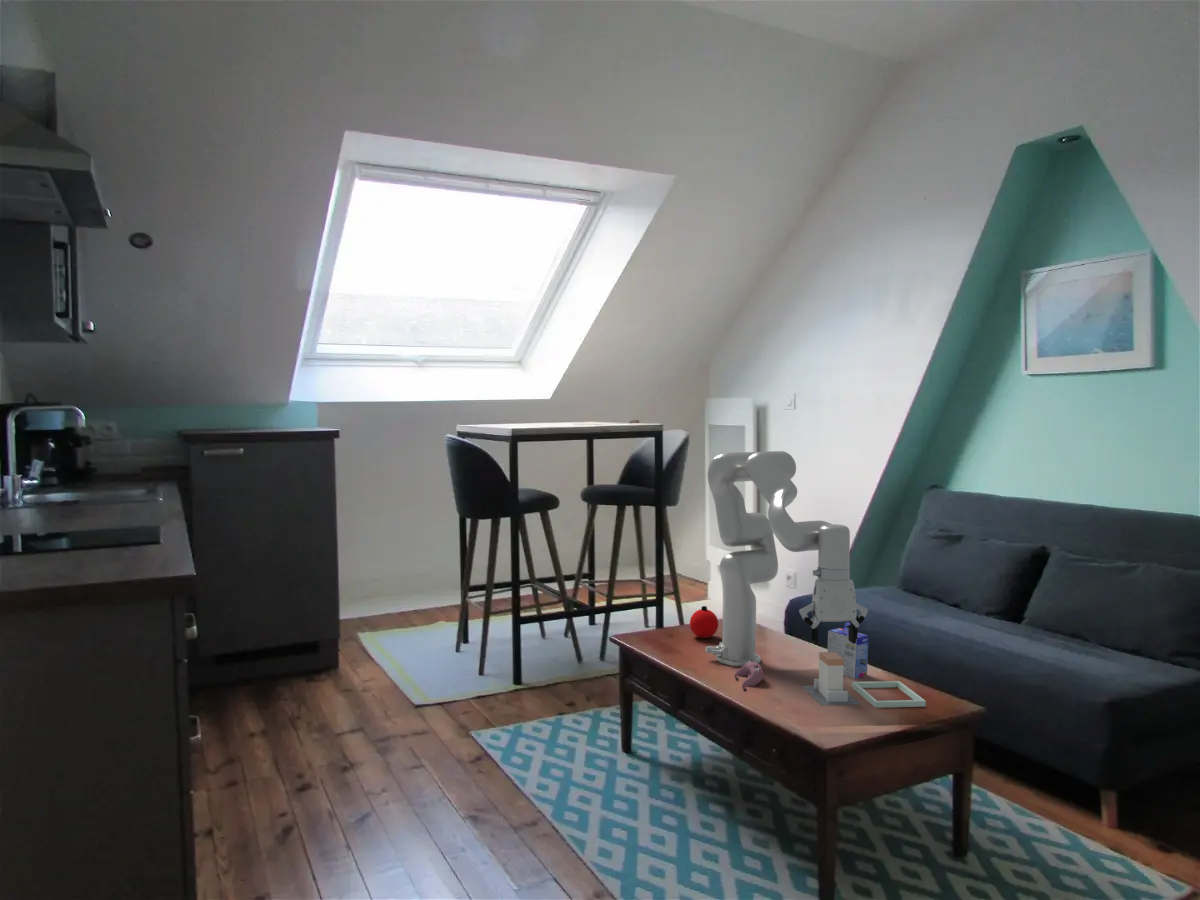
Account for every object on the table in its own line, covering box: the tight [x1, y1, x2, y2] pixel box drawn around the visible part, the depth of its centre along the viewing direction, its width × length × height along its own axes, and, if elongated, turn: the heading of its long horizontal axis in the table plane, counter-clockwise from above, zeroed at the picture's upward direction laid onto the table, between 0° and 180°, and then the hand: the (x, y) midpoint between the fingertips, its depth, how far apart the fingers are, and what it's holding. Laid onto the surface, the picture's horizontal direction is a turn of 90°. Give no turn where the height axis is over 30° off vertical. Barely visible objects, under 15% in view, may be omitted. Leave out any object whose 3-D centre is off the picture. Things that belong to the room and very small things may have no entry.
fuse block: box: [801, 678, 861, 706], centre depth 211 cm, size 10×14×4 cm
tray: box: [851, 680, 927, 708], centre depth 211 cm, size 13×15×2 cm
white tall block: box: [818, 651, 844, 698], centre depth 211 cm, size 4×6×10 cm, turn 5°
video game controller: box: [733, 661, 764, 691], centre depth 222 cm, size 10×5×7 cm, turn 4°
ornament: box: [689, 605, 719, 639], centre depth 266 cm, size 9×9×10 cm
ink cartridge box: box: [826, 621, 869, 680], centre depth 229 cm, size 10×6×14 cm, turn 36°
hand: (833, 642), depth 210 cm, fingers open, 9 cm apart
